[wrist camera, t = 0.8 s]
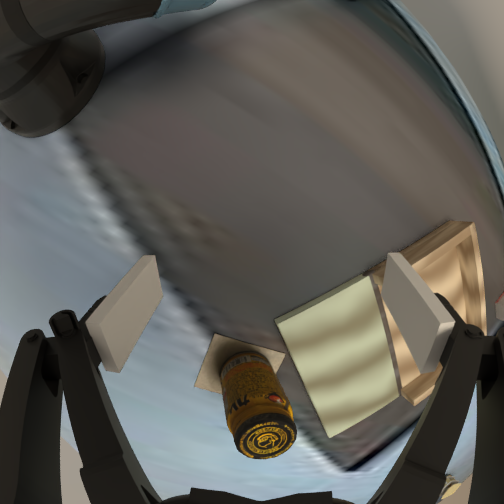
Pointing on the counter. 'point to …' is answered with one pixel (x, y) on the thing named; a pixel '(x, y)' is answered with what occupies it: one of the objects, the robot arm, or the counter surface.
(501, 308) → the tea bag
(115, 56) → the counter surface
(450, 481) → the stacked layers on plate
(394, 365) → the open-front wooden tray
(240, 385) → the condiment
